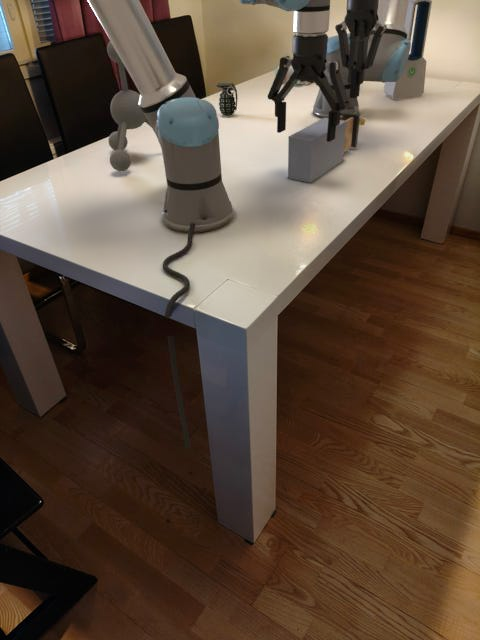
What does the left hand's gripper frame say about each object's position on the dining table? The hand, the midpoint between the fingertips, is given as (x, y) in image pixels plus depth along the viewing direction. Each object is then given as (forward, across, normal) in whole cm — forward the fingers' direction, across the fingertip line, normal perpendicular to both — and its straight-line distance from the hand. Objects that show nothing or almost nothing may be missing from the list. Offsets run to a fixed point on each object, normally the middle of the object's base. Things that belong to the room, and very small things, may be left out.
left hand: (305, 135), depth 117 cm
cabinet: (+10, 0, -6) cm, 12 cm away
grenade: (+10, +50, -35) cm, 62 cm away
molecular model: (+11, +47, +9) cm, 49 cm away
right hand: (-4, 0, -25) cm, 26 cm away
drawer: (+9, 0, -19) cm, 21 cm away
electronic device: (+9, +7, -84) cm, 85 cm away
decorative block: (+10, +55, -94) cm, 109 cm away
